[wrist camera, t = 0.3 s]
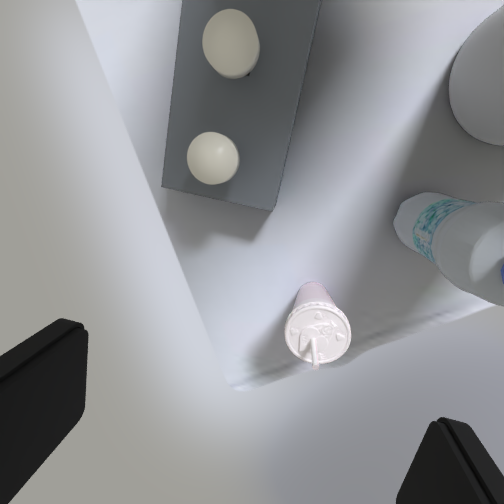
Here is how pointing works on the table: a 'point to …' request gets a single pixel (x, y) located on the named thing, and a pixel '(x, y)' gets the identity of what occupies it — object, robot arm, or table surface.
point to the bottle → (457, 240)
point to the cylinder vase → (481, 81)
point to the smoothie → (316, 327)
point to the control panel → (240, 98)
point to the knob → (213, 158)
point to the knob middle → (231, 43)
